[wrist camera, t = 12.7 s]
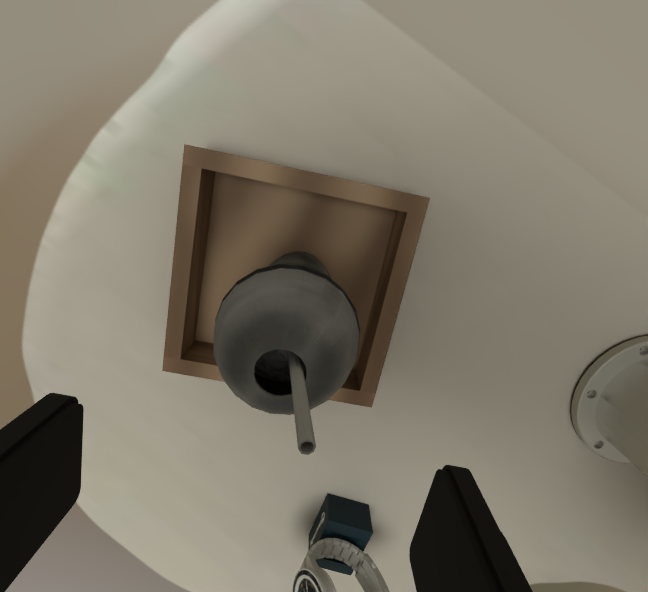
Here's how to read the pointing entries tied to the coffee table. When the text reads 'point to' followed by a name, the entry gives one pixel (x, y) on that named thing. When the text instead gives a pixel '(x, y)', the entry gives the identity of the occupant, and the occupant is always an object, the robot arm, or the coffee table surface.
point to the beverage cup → (287, 339)
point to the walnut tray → (281, 238)
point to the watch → (339, 548)
